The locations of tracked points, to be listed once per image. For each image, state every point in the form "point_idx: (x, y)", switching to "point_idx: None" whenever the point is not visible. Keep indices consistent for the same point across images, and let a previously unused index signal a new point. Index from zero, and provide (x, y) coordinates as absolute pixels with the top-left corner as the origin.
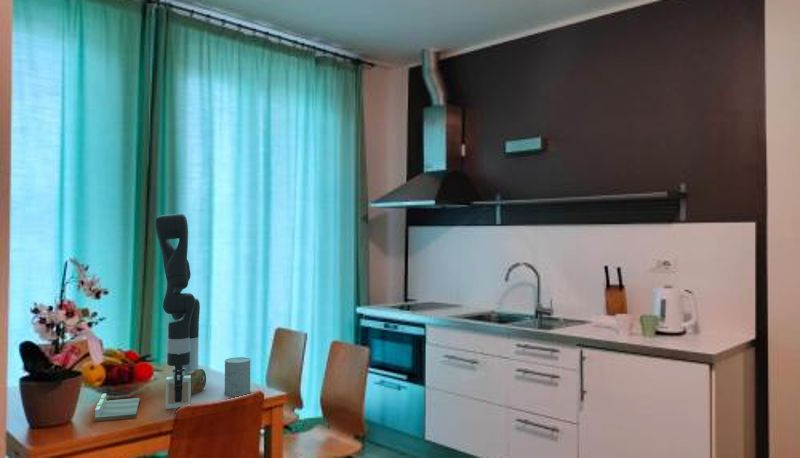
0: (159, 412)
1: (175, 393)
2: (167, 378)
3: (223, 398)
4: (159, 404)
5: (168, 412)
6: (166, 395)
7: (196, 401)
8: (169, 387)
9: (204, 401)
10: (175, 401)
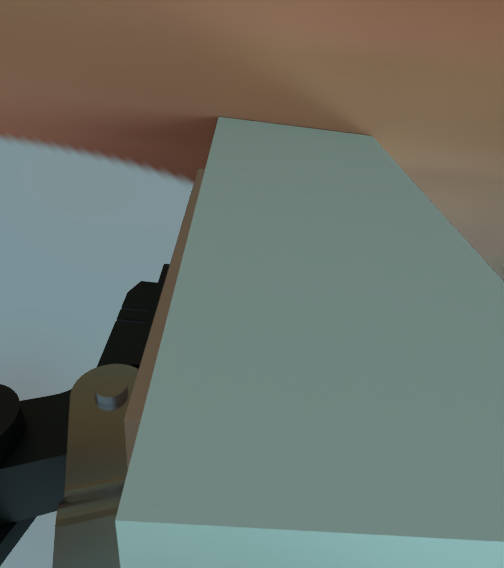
0: (65, 6)
1: (138, 343)
2: (382, 564)
3: None
4: (497, 52)
5: (39, 131)
6: (202, 190)
7: None
8: (156, 342)
9: None
10: (163, 267)
